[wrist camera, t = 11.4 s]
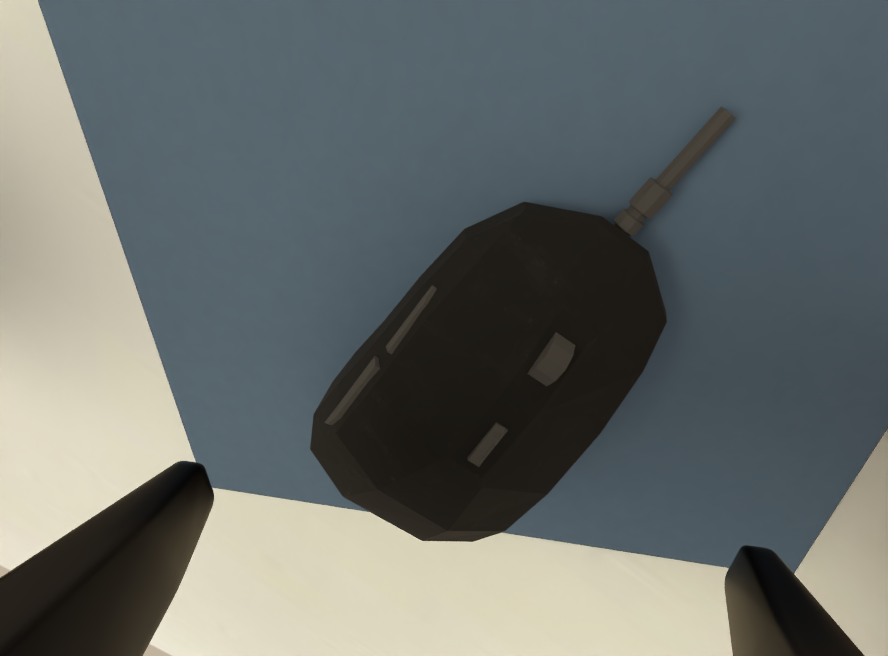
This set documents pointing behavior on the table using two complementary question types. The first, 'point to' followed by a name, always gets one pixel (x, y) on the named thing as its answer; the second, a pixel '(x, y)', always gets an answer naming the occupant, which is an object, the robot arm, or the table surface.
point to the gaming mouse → (499, 365)
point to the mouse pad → (497, 189)
